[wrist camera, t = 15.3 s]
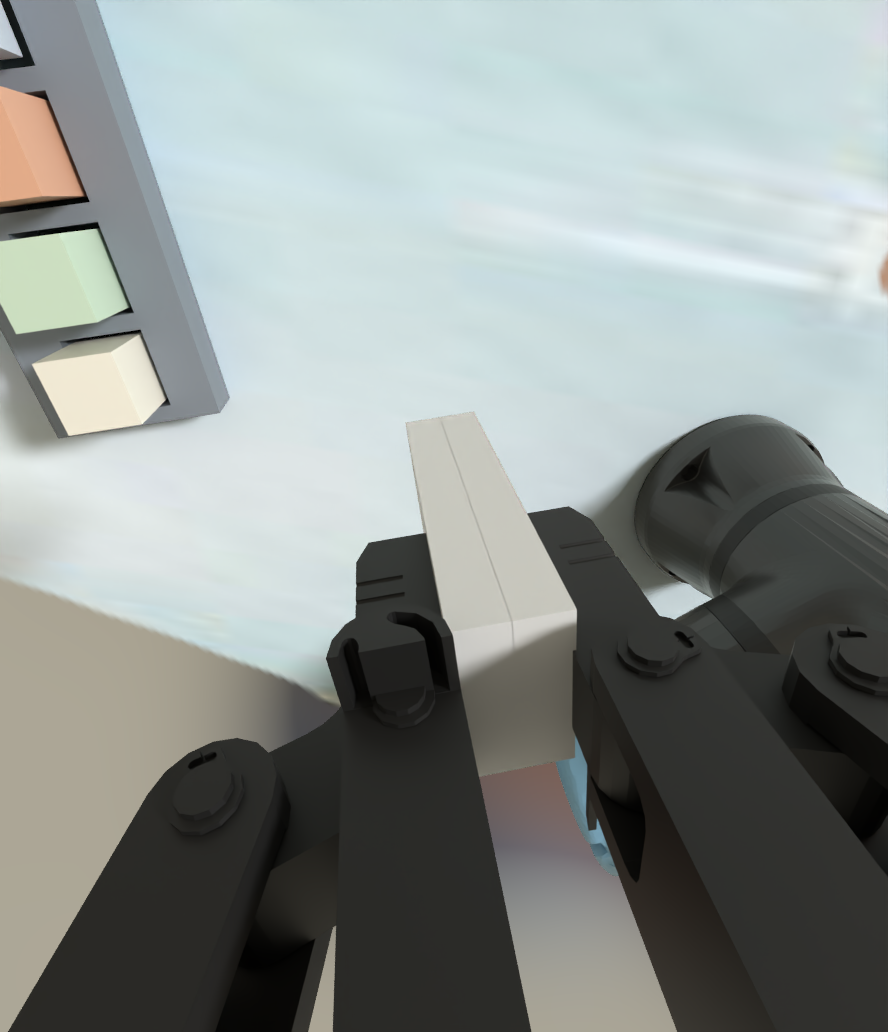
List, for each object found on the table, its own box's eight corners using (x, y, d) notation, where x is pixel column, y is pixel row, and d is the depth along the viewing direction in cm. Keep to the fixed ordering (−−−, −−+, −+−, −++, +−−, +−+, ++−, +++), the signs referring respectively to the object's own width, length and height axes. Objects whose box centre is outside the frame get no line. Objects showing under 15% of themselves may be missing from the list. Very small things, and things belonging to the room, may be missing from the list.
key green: (133, 305, 31) (97, 322, 27) (63, 315, 31) (16, 334, 27) (102, 228, 29) (59, 233, 25) (27, 238, 29) (-30, 245, 25)
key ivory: (169, 396, 34) (142, 424, 30) (105, 405, 34) (68, 435, 30) (143, 331, 32) (110, 352, 28) (75, 341, 32) (31, 364, 28)
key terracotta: (90, 196, 29) (42, 196, 24) (12, 206, 28) (-49, 208, 24) (53, 102, 27) (-7, 84, 22) (-31, 112, 26) (-107, 96, 22)
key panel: (229, 397, 37) (219, 413, 34) (79, 421, 36) (58, 438, 34) (67, -83, 25) (34, -115, 22) (-160, -58, 24) (-221, -88, 22)
